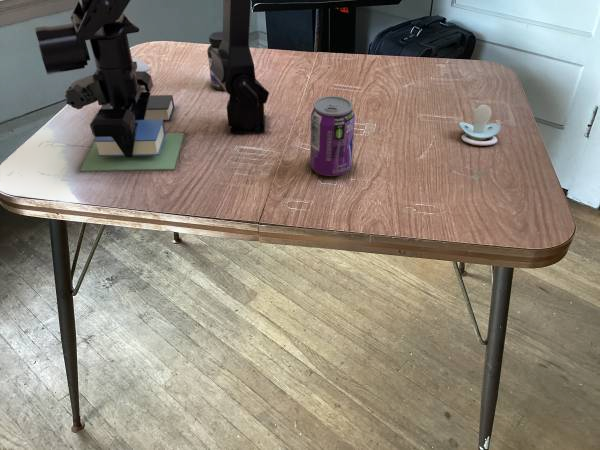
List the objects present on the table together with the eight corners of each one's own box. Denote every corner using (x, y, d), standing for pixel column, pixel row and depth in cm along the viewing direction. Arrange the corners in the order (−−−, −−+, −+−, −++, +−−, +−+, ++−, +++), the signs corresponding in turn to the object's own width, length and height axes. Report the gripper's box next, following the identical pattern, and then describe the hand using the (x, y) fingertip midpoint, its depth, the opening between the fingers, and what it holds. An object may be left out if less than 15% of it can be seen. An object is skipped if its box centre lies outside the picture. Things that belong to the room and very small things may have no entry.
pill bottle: (241, 79, 121) (238, 30, 114) (236, 91, 116) (232, 41, 109) (214, 78, 121) (209, 29, 114) (208, 90, 117) (202, 40, 110)
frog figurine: (121, 83, 120) (114, 52, 115) (154, 80, 121) (148, 50, 116) (120, 95, 115) (112, 64, 111) (153, 92, 116) (147, 61, 112)
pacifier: (500, 149, 99) (495, 131, 103) (509, 118, 94) (503, 101, 99) (459, 146, 99) (456, 129, 104) (466, 116, 95) (462, 99, 100)
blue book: (165, 135, 100) (163, 119, 98) (159, 155, 94) (155, 139, 92) (108, 135, 100) (104, 120, 98) (98, 156, 94) (93, 140, 92)
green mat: (184, 134, 103) (183, 133, 102) (174, 170, 93) (173, 168, 93) (99, 135, 102) (98, 134, 102) (80, 171, 93) (80, 169, 93)
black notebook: (174, 107, 111) (172, 95, 109) (170, 121, 107) (167, 108, 105) (110, 108, 111) (107, 95, 109) (103, 122, 106) (100, 109, 105)
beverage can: (348, 181, 91) (352, 117, 83) (306, 177, 92) (307, 113, 84) (353, 159, 96) (358, 96, 88) (314, 154, 97) (315, 92, 89)
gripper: (80, 40, 94) (102, 120, 104) (43, 88, 80) (72, 176, 90) (144, 39, 94) (160, 119, 104) (119, 87, 80) (140, 175, 90)
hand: (133, 145), depth 97 cm, fingers closed on blue book, 7 cm apart
